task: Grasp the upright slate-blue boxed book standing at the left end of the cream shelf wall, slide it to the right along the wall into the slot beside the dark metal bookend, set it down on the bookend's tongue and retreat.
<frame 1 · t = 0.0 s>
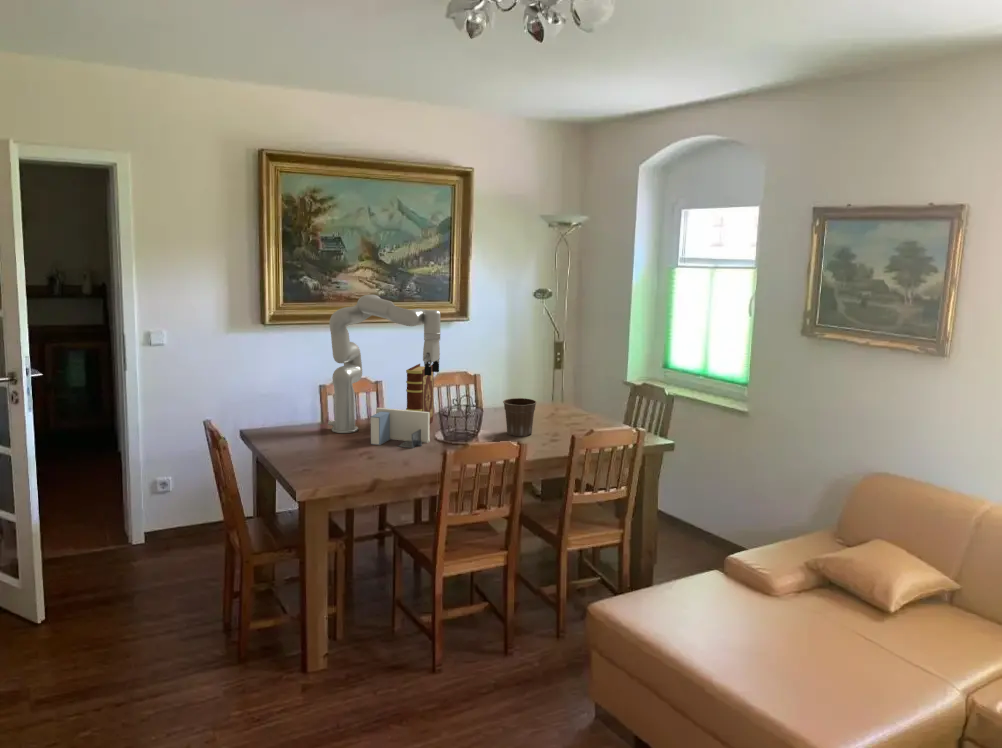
hand: (431, 373, 358), 31 cm above the table, fingers open, 9 cm apart
decorative book: (419, 426, 388), on the table
boxed book: (380, 441, 356), on the table
plant pot: (518, 434, 377), on the table
shelf wall: (402, 439, 360), on the table
bookend: (416, 445, 351), on the table
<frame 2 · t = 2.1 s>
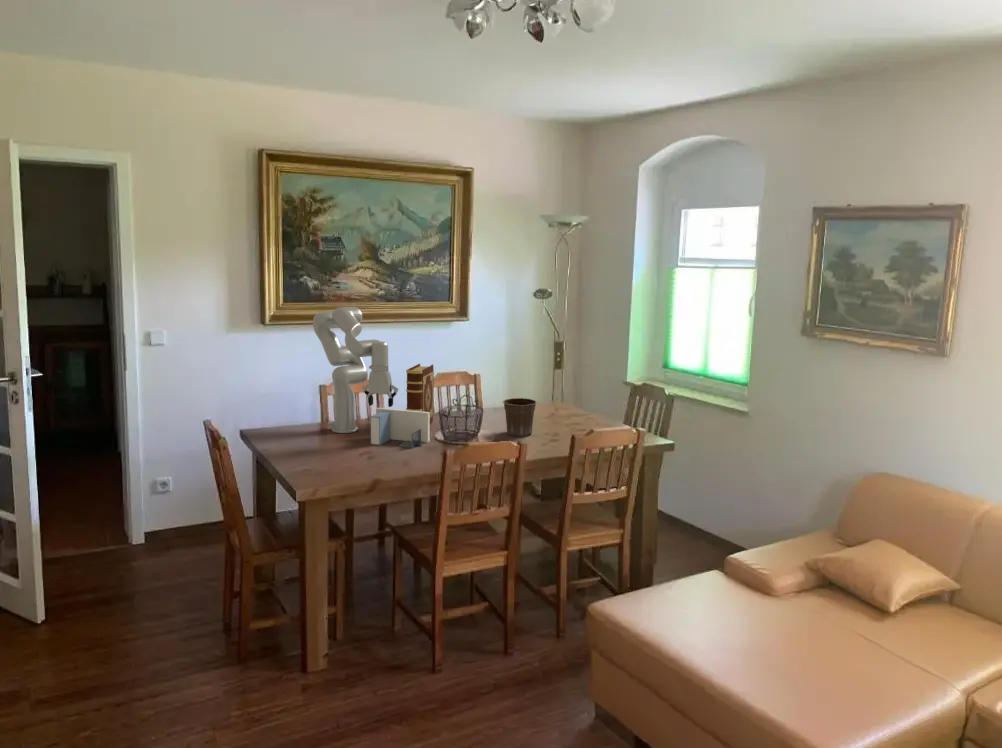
hand: (380, 405, 352), 17 cm above the table, fingers open, 9 cm apart
nothing on the table moved.
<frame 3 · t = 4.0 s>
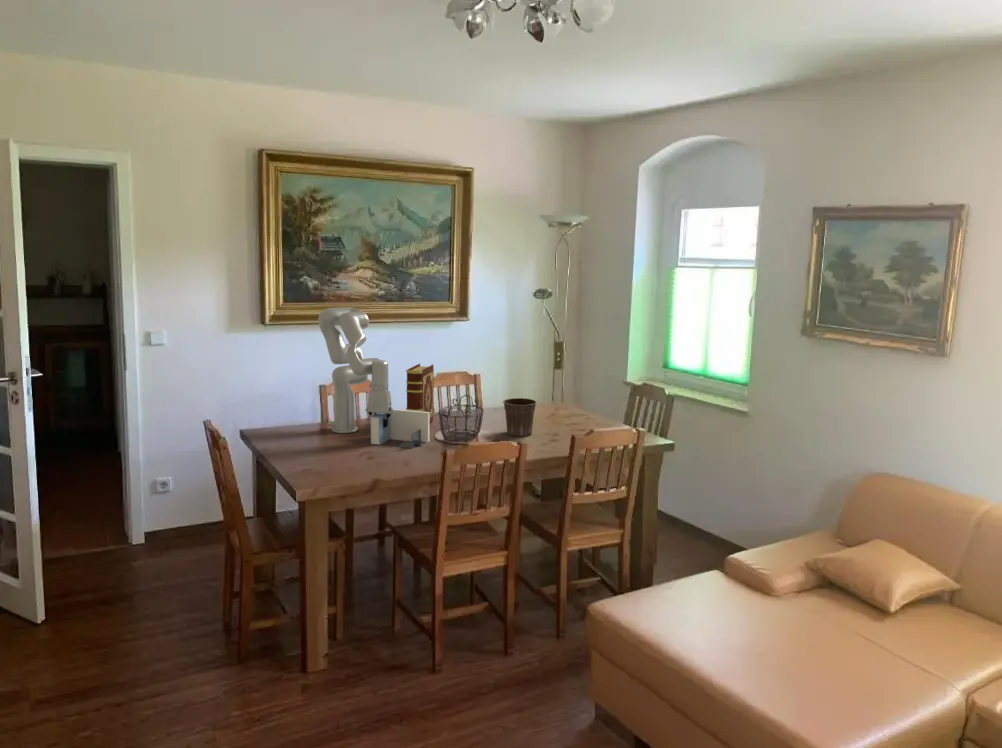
hand: (380, 426, 354), 7 cm above the table, fingers closed on boxed book, 4 cm apart
boxed book: (380, 441, 355), on the table, touching gripper
everything else where it was.
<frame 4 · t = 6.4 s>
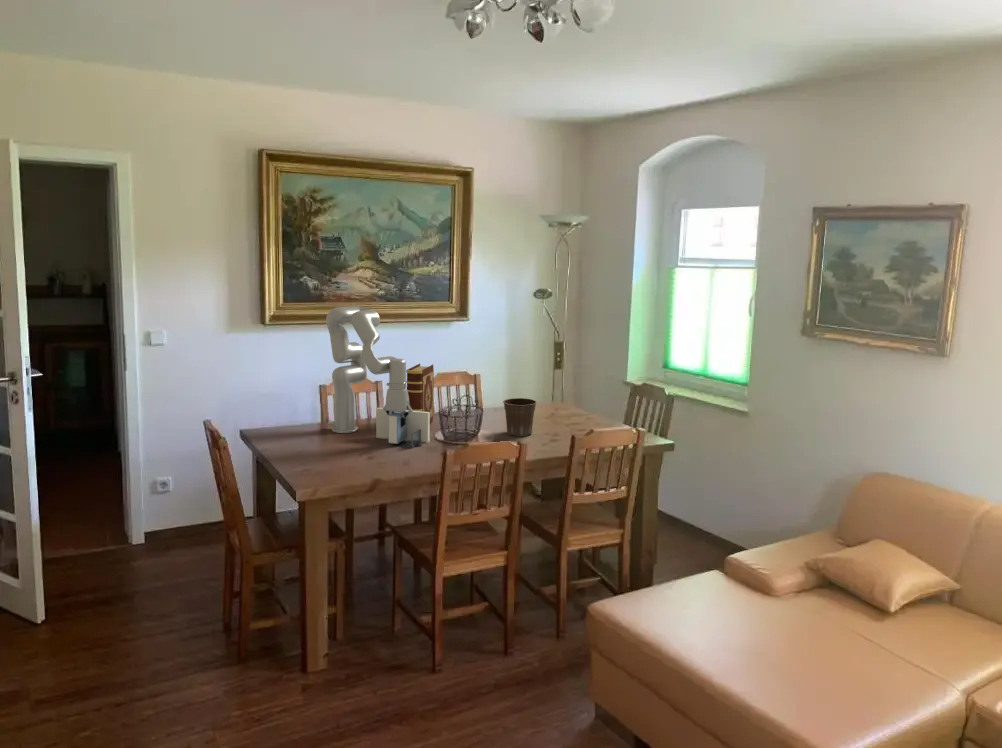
hand: (397, 425, 352), 9 cm above the table, fingers closed on boxed book, 4 cm apart
boxed book: (397, 440, 353), point 1 cm above the table, touching gripper
everything else where it was.
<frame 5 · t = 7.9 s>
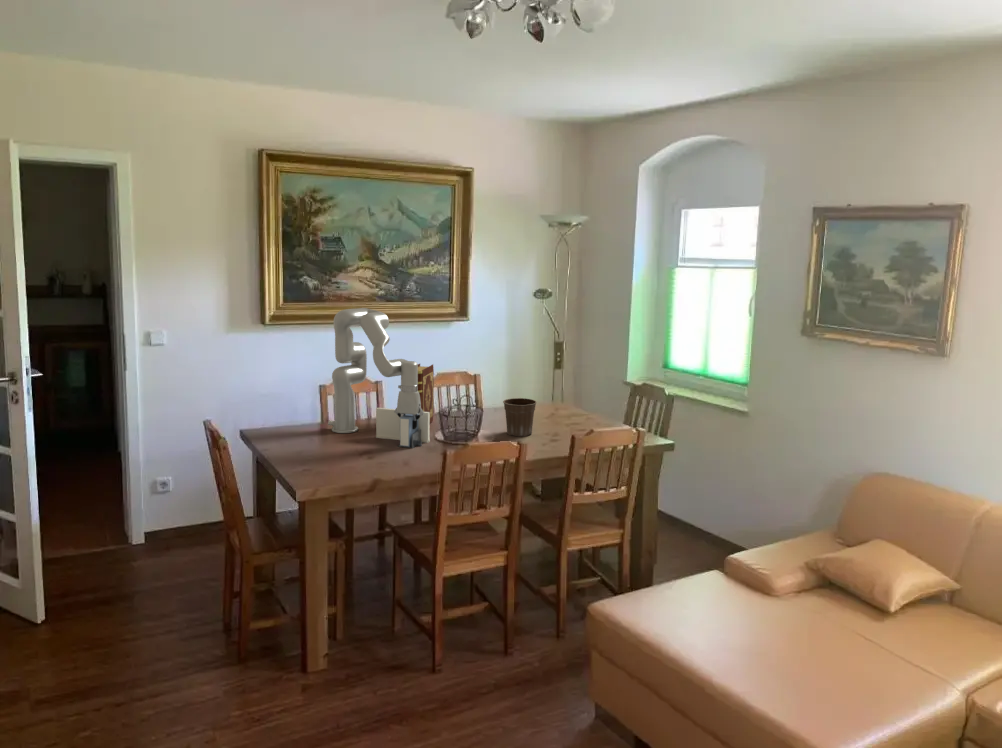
hand: (409, 427, 350), 8 cm above the table, fingers closed on boxed book, 4 cm apart
boxed book: (409, 443, 351), point 1 cm above the table, touching gripper
everything else where it was.
when the fingers open (8 cm above the table, at t = 8.7 s): boxed book stays where it is, resting on bookend.
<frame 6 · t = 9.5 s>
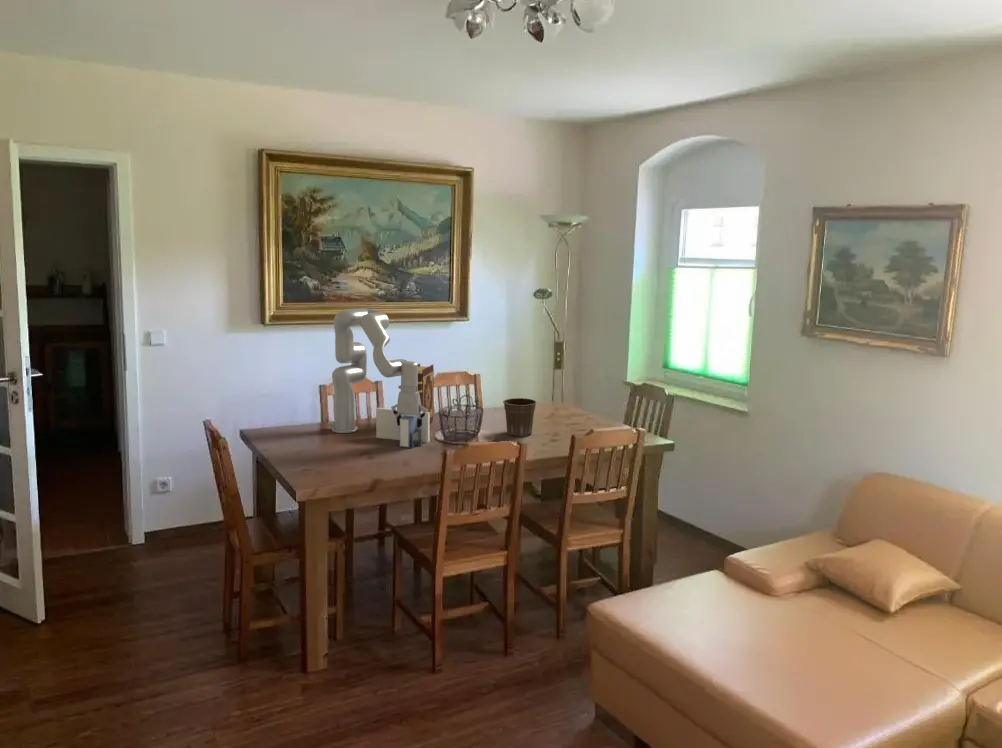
hand: (409, 425, 350), 9 cm above the table, fingers open, 9 cm apart
boxed book: (408, 444, 352), resting on bookend
everything else where it was.
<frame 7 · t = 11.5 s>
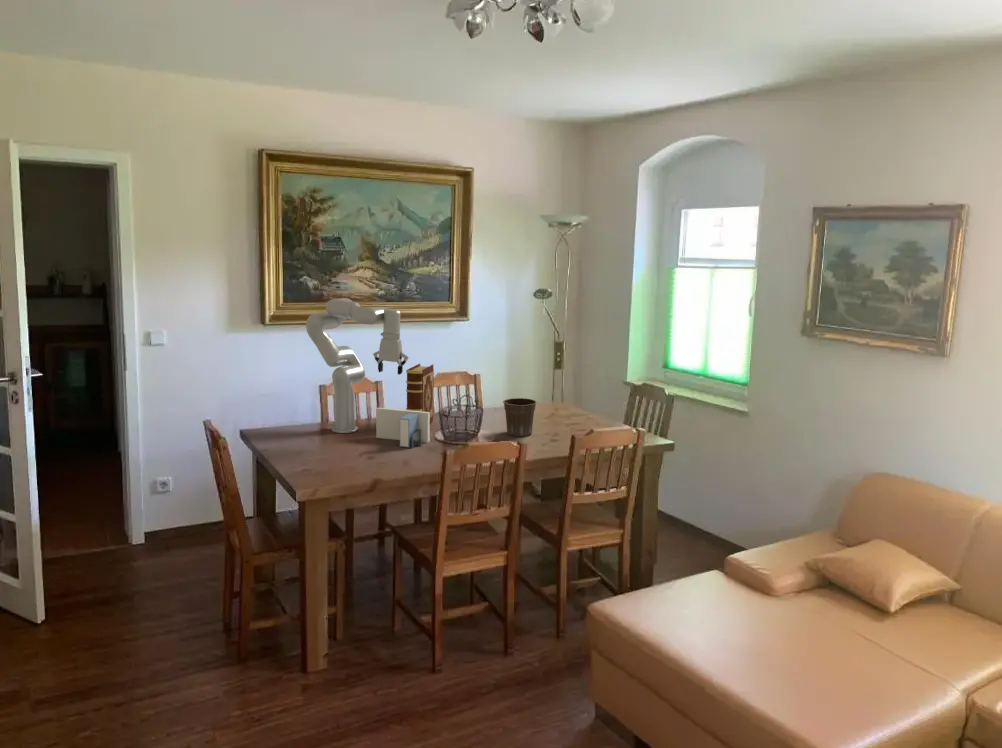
hand: (390, 372, 357), 31 cm above the table, fingers open, 9 cm apart
nothing on the table moved.
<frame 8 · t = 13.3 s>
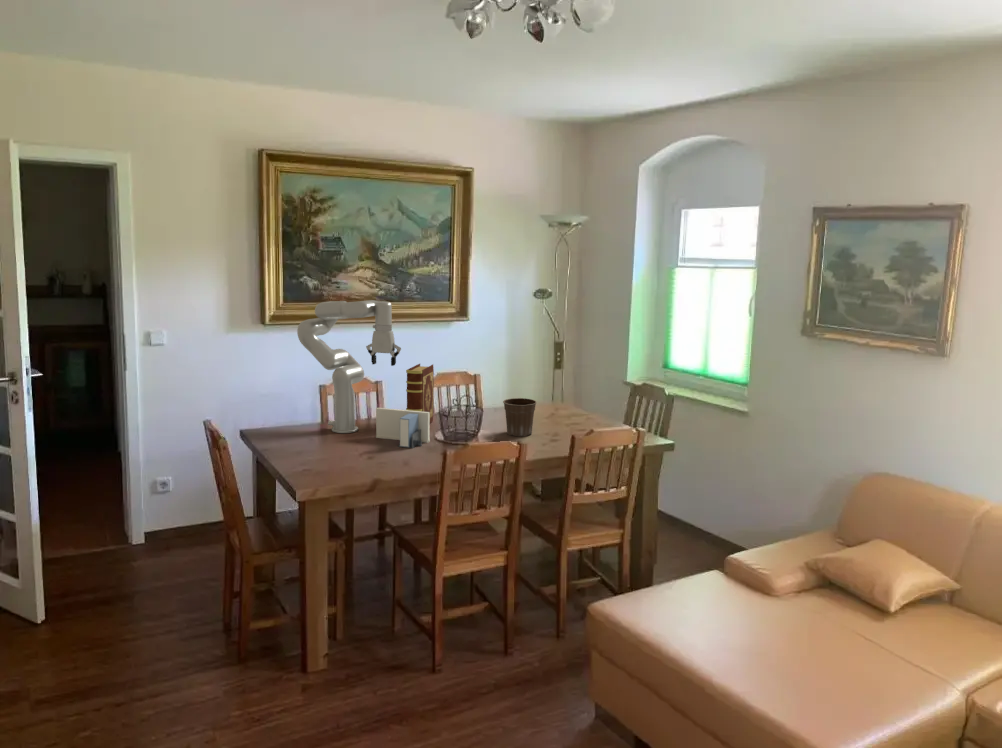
hand: (383, 364, 360), 34 cm above the table, fingers open, 9 cm apart
nothing on the table moved.
at the end: boxed book inside the target area on the bookend (0.7 cm from its centre), point 0.3 cm above the bookend's base; boxed book tilted 0°; the gripper is holding nothing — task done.
